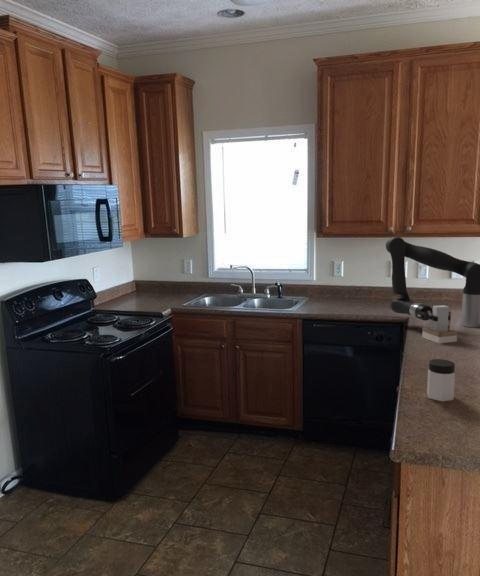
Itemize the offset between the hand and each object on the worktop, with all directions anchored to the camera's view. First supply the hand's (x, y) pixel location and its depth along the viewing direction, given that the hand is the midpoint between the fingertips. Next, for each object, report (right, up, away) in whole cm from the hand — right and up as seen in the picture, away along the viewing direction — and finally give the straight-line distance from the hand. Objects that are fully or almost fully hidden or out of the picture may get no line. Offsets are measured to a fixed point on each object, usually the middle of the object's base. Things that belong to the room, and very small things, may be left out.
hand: (443, 318), depth 239 cm
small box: (+6, -8, +21) cm, 23 cm away
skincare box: (-1, -6, +3) cm, 7 cm away
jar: (-28, -23, -67) cm, 77 cm away
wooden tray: (-1, -10, +4) cm, 11 cm away
